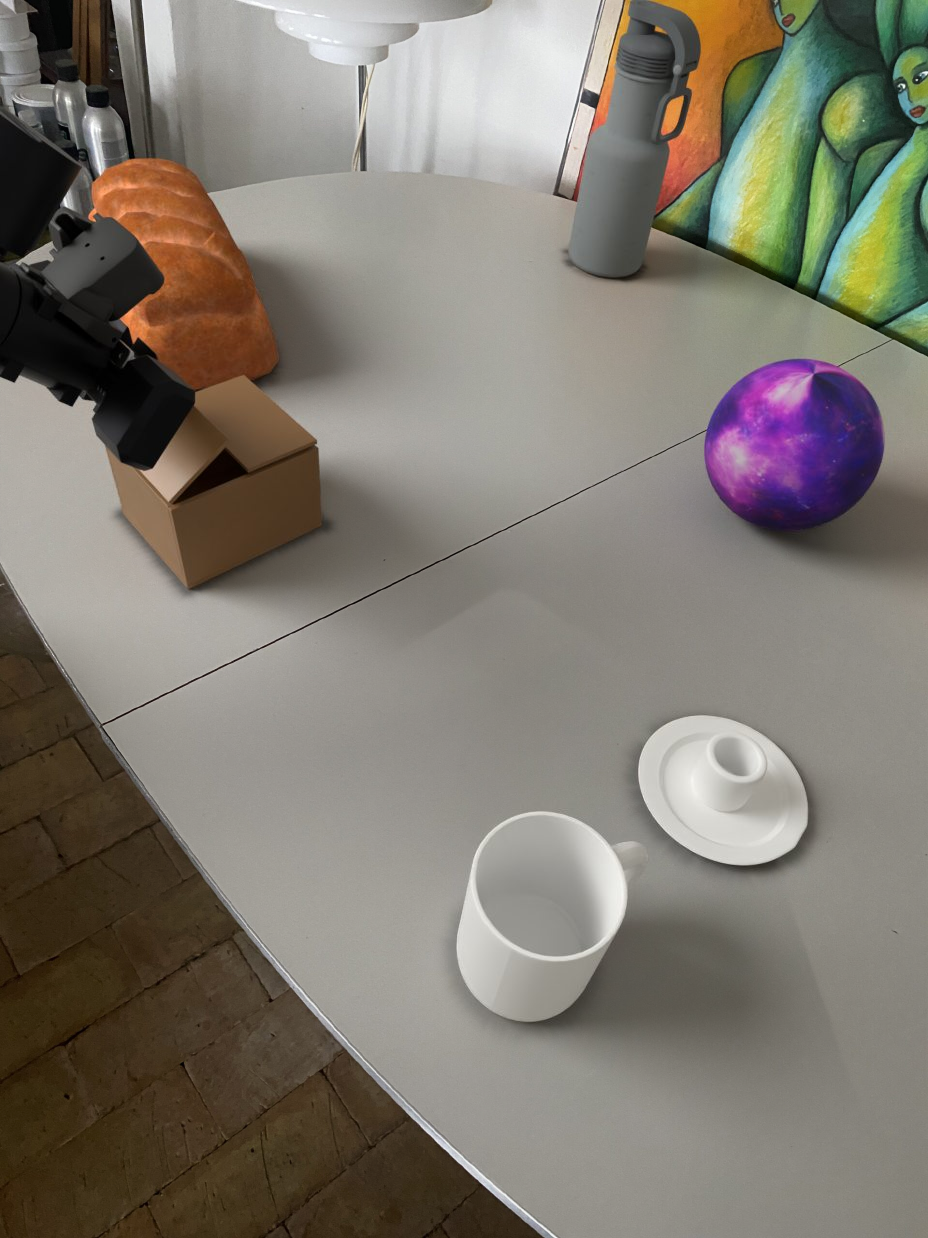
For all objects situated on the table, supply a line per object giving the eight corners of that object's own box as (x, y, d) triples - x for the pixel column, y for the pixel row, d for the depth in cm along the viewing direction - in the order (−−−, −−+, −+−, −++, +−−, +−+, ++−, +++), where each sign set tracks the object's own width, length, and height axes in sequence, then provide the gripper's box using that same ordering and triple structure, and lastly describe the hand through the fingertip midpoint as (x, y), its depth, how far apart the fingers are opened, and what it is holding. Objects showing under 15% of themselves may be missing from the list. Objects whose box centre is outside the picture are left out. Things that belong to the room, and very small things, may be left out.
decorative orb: (667, 458, 87) (713, 322, 76) (809, 460, 89) (873, 327, 78) (708, 565, 77) (767, 427, 66) (866, 565, 79) (949, 430, 68)
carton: (188, 589, 70) (169, 502, 63) (123, 514, 75) (99, 425, 68) (322, 525, 76) (318, 439, 69) (254, 460, 81) (244, 373, 74)
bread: (135, 406, 85) (105, 279, 75) (84, 255, 103) (55, 136, 93) (290, 380, 90) (282, 258, 81) (217, 240, 108) (202, 127, 99)
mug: (588, 845, 58) (623, 763, 51) (664, 955, 54) (714, 883, 46) (430, 926, 54) (442, 849, 46) (499, 1054, 49) (524, 992, 42)
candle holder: (834, 855, 60) (861, 824, 56) (671, 883, 57) (690, 853, 54) (759, 712, 67) (780, 678, 64) (613, 731, 65) (626, 697, 61)
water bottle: (658, 265, 114) (724, 14, 93) (616, 289, 109) (676, 29, 88) (595, 236, 118) (646, -11, 97) (552, 258, 113) (595, 2, 92)
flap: (171, 504, 64) (168, 502, 63) (102, 428, 69) (98, 426, 68) (231, 441, 64) (228, 438, 63) (157, 370, 69) (154, 367, 68)
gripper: (136, 260, 46) (317, 374, 60) (-7, 136, 55) (180, 261, 68) (31, 432, 48) (229, 505, 62) (-91, 287, 57) (106, 379, 71)
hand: (185, 404), depth 66 cm, fingers closed, pressing on flap
